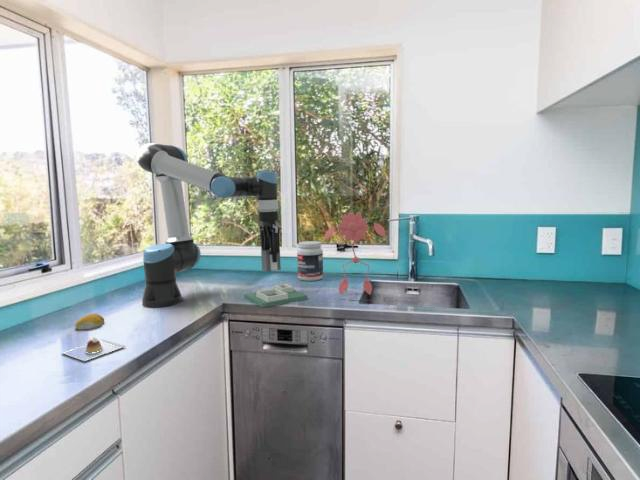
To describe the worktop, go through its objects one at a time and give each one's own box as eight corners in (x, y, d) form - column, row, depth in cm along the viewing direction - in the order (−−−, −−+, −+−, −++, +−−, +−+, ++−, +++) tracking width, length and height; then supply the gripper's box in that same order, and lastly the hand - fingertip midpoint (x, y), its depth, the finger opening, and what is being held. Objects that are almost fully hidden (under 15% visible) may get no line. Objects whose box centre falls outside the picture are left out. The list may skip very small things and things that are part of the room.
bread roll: (106, 321, 146) (105, 310, 145) (99, 329, 137) (98, 317, 137) (80, 323, 144) (79, 312, 143) (71, 331, 135) (70, 320, 135)
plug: (267, 271, 161) (265, 251, 160) (262, 270, 165) (261, 250, 164) (282, 269, 164) (281, 249, 164) (276, 267, 168) (276, 248, 167)
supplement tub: (294, 281, 202) (292, 244, 199) (302, 275, 214) (301, 240, 212) (319, 282, 198) (318, 244, 196) (326, 276, 210) (325, 241, 208)
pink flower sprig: (328, 290, 181) (326, 211, 176) (387, 292, 175) (386, 210, 170) (319, 300, 167) (317, 214, 162) (383, 303, 160) (382, 213, 155)
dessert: (61, 356, 116) (59, 340, 115) (102, 342, 126) (101, 327, 125) (84, 365, 109) (83, 347, 109) (126, 349, 119) (125, 333, 119)
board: (262, 307, 157) (262, 298, 157) (244, 297, 172) (244, 289, 172) (307, 298, 168) (307, 290, 167) (286, 290, 183) (286, 282, 183)
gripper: (287, 210, 156) (289, 271, 159) (267, 209, 171) (270, 265, 174) (269, 212, 152) (272, 273, 155) (250, 210, 167) (253, 267, 170)
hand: (271, 269), depth 164 cm, fingers closed on plug, 4 cm apart
